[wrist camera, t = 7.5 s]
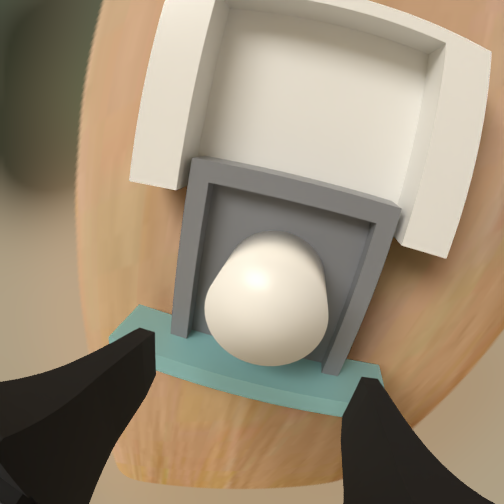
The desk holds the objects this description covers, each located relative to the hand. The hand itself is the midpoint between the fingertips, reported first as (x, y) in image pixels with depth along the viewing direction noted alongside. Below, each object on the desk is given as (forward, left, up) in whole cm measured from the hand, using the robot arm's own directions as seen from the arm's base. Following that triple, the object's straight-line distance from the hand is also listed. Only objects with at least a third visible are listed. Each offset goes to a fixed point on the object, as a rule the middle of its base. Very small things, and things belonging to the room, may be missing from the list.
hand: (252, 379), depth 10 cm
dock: (+6, -6, -9) cm, 13 cm away
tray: (0, 0, -8) cm, 8 cm away
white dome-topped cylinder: (0, 0, -7) cm, 7 cm away
